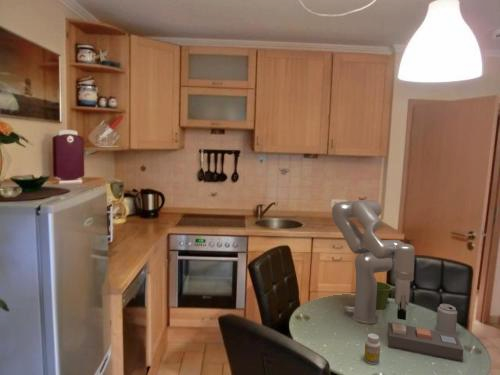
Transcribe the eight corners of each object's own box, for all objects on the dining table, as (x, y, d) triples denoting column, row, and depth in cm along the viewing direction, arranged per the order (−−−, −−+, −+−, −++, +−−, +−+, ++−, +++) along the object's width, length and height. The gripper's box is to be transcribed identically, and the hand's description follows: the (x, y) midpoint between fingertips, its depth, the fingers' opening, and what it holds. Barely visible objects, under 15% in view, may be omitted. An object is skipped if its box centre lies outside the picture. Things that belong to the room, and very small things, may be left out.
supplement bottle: (376, 366, 127) (377, 341, 126) (362, 360, 130) (363, 336, 129) (381, 360, 131) (383, 336, 130) (367, 354, 134) (369, 331, 134)
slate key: (441, 350, 136) (442, 341, 136) (439, 344, 141) (440, 335, 140) (456, 353, 134) (456, 344, 134) (453, 347, 139) (454, 337, 139)
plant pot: (388, 314, 169) (389, 291, 168) (363, 308, 176) (364, 286, 175) (392, 305, 179) (393, 284, 178) (369, 299, 186) (370, 279, 185)
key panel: (388, 347, 140) (389, 335, 139) (387, 333, 151) (388, 322, 151) (462, 362, 131) (463, 349, 130) (455, 346, 142) (456, 334, 142)
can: (458, 337, 149) (460, 311, 147) (439, 335, 150) (441, 309, 149) (451, 329, 156) (453, 303, 155) (433, 327, 157) (435, 301, 156)
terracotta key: (416, 342, 139) (417, 333, 139) (415, 336, 144) (416, 327, 143) (430, 345, 137) (431, 335, 137) (428, 339, 142) (429, 329, 142)
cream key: (392, 338, 142) (392, 328, 142) (391, 332, 147) (392, 323, 147) (405, 340, 141) (406, 331, 140) (404, 334, 145) (405, 325, 145)
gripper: (392, 268, 149) (391, 310, 150) (394, 279, 135) (392, 324, 136) (411, 270, 147) (410, 312, 148) (415, 281, 133) (413, 328, 134)
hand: (401, 318), depth 142 cm, fingers closed
